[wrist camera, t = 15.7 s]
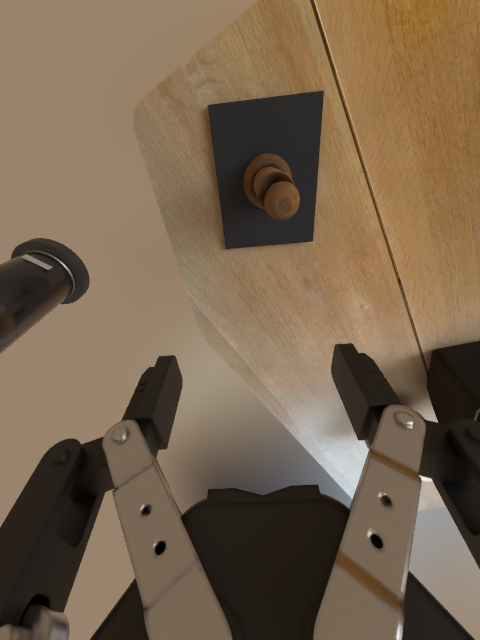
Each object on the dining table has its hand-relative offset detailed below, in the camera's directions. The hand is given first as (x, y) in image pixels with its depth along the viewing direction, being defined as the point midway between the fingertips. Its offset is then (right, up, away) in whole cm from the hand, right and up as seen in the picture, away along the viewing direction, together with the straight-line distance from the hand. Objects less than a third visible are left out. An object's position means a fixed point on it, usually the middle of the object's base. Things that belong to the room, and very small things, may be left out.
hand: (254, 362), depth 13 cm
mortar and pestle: (+3, +22, +23) cm, 32 cm away
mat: (+3, +22, +23) cm, 32 cm away
